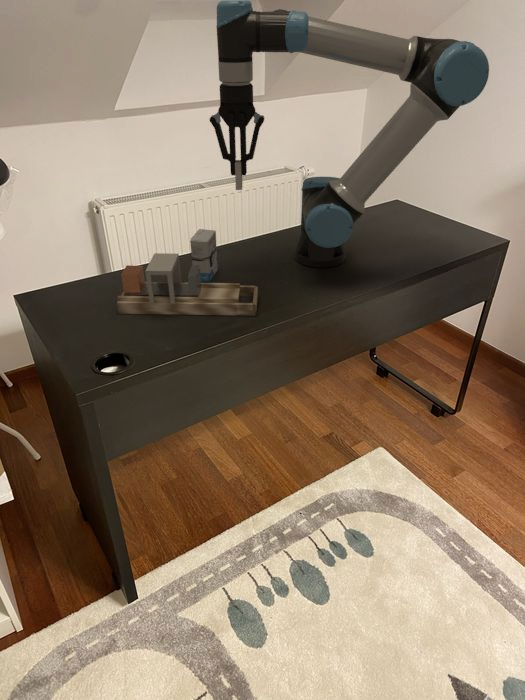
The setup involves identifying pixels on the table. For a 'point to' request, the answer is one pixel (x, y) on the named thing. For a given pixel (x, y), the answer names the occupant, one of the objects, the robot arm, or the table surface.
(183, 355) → the table surface
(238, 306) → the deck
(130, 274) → the sled
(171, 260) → the tunnel
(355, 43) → the robot arm
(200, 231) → the ink box
